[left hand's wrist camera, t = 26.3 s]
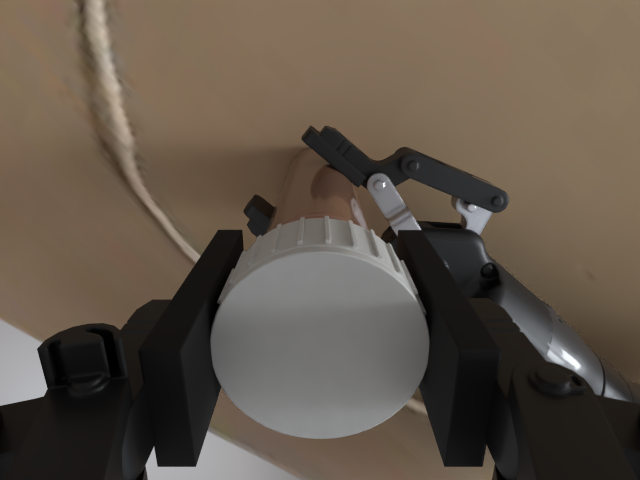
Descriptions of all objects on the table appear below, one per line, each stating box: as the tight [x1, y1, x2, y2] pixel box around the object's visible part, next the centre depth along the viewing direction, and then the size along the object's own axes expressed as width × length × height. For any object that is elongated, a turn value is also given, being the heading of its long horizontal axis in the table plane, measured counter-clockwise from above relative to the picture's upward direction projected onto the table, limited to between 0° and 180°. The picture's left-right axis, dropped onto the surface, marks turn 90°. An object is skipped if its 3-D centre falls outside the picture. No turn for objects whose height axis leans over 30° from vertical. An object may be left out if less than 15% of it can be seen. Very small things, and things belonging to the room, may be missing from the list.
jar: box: [266, 148, 369, 234], centre depth 21 cm, size 4×4×18 cm
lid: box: [210, 216, 430, 439], centre depth 11 cm, size 5×5×2 cm
